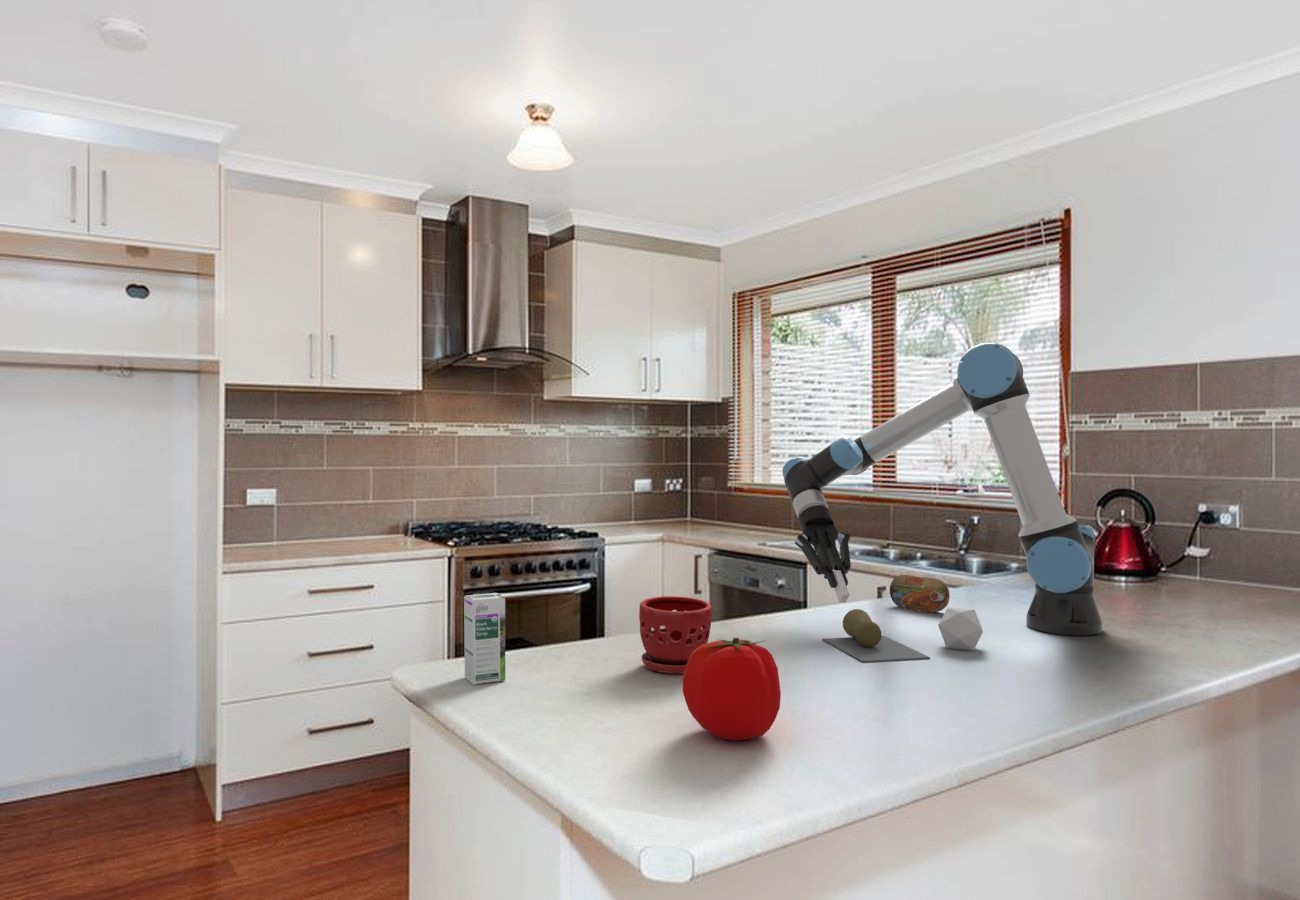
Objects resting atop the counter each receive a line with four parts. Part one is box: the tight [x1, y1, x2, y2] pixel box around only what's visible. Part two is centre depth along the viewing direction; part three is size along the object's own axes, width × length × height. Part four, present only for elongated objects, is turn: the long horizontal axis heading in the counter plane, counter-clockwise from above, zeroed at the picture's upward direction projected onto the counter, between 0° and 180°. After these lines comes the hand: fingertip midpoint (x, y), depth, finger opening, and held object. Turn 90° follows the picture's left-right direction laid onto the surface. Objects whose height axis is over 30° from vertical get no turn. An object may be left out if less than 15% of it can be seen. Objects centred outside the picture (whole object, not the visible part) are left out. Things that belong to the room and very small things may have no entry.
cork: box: [842, 608, 883, 647], centre depth 172 cm, size 6×6×11 cm
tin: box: [889, 574, 950, 614], centre depth 207 cm, size 15×3×8 cm, turn 43°
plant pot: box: [638, 595, 713, 675], centre depth 153 cm, size 13×13×12 cm
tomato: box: [682, 637, 782, 741], centre depth 119 cm, size 16×14×14 cm
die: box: [937, 606, 983, 652], centre depth 169 cm, size 8×9×10 cm
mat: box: [822, 635, 931, 663], centre depth 168 cm, size 18×14×1 cm
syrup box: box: [463, 592, 506, 686], centre depth 145 cm, size 6×6×14 cm
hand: (844, 598), depth 180 cm, fingers closed
